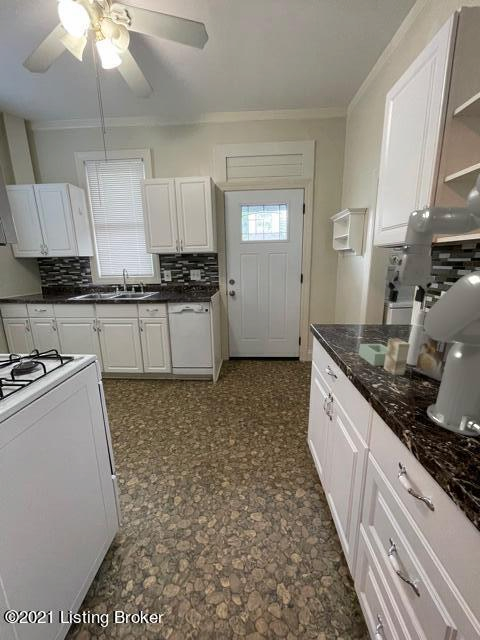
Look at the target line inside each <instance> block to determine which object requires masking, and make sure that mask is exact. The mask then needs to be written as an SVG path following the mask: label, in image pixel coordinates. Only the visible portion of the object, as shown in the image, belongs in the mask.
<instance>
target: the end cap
mask: <svg viewBox="0 0 480 640" xmlns="http://www.w3.org/2000/svg"><path fill="white" fill-rule="evenodd" d="M386 351H387V345H383V344H382V343H359V349H358V355H359V356H360V357H361V358H362V359H364V360H365V361H366V362H368V363H369V364H370V365H371V366H373V367H375V366H376V367H379V366H380V367H381V366H382V367H384V363H385V357H386Z"/></svg>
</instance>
